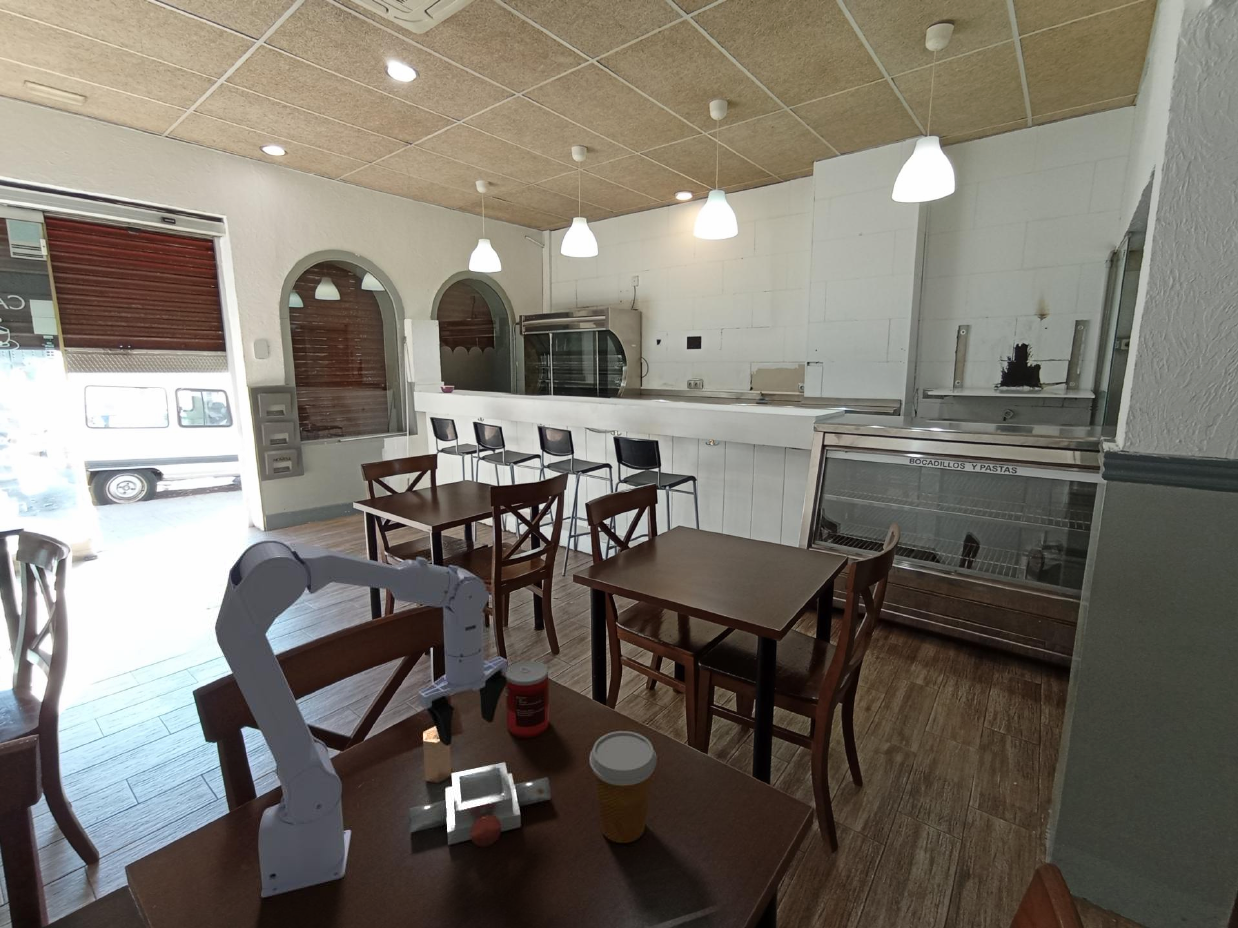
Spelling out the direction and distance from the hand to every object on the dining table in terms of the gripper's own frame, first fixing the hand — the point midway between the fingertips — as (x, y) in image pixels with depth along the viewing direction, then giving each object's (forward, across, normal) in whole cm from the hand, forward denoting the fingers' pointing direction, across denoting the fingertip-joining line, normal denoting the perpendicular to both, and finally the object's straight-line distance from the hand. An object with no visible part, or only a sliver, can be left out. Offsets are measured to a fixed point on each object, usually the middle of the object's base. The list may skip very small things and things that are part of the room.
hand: (467, 730), depth 88 cm
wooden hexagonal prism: (+10, -2, +6) cm, 12 cm away
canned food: (+10, +16, +5) cm, 20 cm away
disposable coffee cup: (+10, +10, -23) cm, 27 cm away
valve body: (+10, -2, -6) cm, 12 cm away
